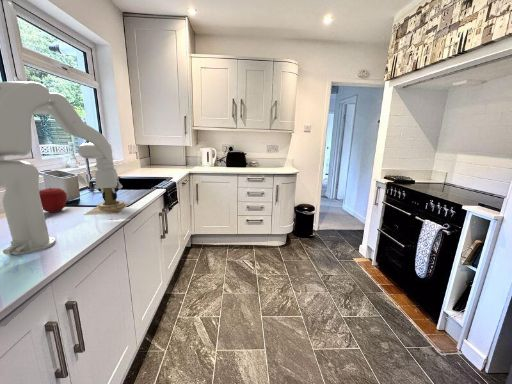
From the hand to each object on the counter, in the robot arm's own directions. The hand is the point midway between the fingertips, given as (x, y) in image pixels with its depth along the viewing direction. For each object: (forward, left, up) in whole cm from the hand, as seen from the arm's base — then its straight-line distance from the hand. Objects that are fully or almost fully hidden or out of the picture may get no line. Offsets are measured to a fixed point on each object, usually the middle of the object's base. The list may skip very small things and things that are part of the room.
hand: (110, 199), depth 130 cm
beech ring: (0, 0, -4) cm, 4 cm away
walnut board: (-3, 0, -5) cm, 6 cm away
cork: (0, 0, -3) cm, 3 cm away
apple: (-2, +27, -5) cm, 28 cm away
